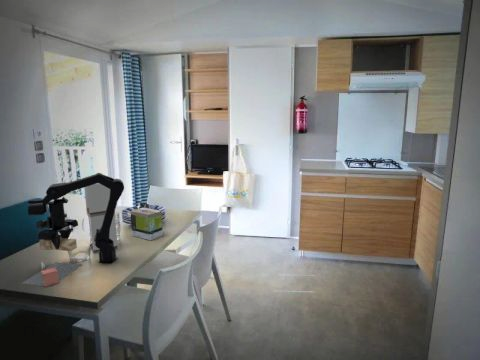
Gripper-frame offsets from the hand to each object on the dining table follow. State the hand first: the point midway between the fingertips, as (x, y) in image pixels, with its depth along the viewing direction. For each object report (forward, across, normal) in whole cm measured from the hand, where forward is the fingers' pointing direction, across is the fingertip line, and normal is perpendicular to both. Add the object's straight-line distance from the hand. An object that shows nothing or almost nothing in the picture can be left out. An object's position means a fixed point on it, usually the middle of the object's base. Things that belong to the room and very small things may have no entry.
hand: (60, 247), depth 151 cm
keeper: (+10, +13, +5) cm, 17 cm away
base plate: (+10, +6, 0) cm, 12 cm away
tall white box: (+10, -24, +5) cm, 27 cm away
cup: (+10, -30, -24) cm, 40 cm away
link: (0, 0, -1) cm, 1 cm away
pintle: (+10, +6, -5) cm, 12 cm away
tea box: (+10, -45, +19) cm, 50 cm away
